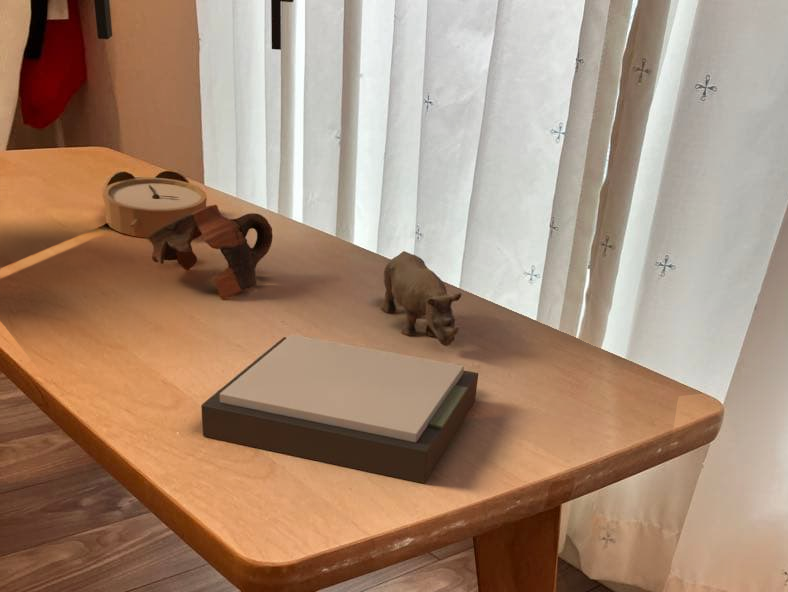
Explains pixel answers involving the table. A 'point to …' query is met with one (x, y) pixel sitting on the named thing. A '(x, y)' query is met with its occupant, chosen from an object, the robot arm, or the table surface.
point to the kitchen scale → (344, 406)
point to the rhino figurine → (419, 297)
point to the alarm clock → (149, 201)
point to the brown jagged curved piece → (216, 245)
